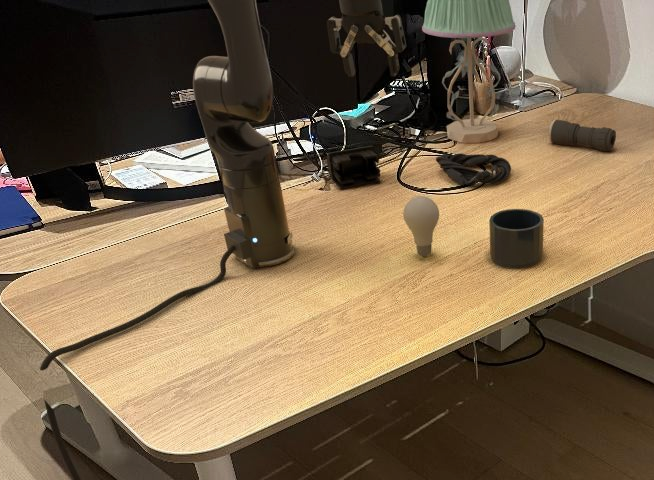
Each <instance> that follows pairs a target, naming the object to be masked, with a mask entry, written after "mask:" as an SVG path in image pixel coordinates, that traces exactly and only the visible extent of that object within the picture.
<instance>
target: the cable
mask: <svg viewBox="0 0 654 480" xmlns="http://www.w3.org/2000/svg"><path fill="white" fill-rule="evenodd" d="M435 161H436V163H438V165H439V167H440V169H442V171H443V173H444V174H445V175H446V176H447V178H449V179H450V180H451V181H452V182H454V183H455V184H458V185H459V186H461V187H465V186H471V187H477V183H480V184H484V185H485V184H487V185H488V184H489V185H497V184H501V183H503V182H505V181H506V180H507V179H508V177H510V174H511V172H512V166H511V164H510V162H509V161H508V160H507V159H506V158H504V157H500V156H499V157H498V155H496V154H481V153H479V154H478V153H477V154H466V153H456V154H447V153H444V154H442V155H440V156H436V158H435ZM476 165H480V166H483V167H485V166H488V165H491V168H490V169H491V171H489V170H487V169H486V170H481V171H480V170H477V169H473V168H470V167H473V166H476ZM499 170H500V171H499Z"/></svg>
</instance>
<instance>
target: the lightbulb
mask: <svg viewBox="0 0 654 480" xmlns="http://www.w3.org/2000/svg"><path fill="white" fill-rule="evenodd" d="M402 215H403V220H404V222H405V224H406V226H407V227H408V229H409V230H410V232H411V233H412V236H413V241H414V245H416V252H417V253H416V254H417V255H418V256H420V257H422V258H427V257H428V256H430V255H431V254H432V250H433V249H432V244H433V236H434V232H435V228H436V227H437V224H438V222H439V219H440V210H439V207H438V204H436V203H435V201H434V200H433V199H432V198H430V197H428V196H425V195H417V196H414V197H411V198H410V199H409V200H408V201H407V203H406V204H405V205H404V208H403V212H402Z"/></svg>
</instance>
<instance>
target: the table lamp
mask: <svg viewBox="0 0 654 480" xmlns="http://www.w3.org/2000/svg"><path fill="white" fill-rule="evenodd" d="M512 12H513V11H512V7H511V3H510V0H427V2H426V6H425V10H424V20H423V24H422V26H421V30H422V32H423V33H425V34H427V35H430V36H435V37H440V38H449V39H451V38H452V39H455V40H453V41H451V42H450V44H449V45H450V46H449V49H448V51H449V53H450V54H452V51H453V49H452V48H454V46H455V45H462V47H464V49H461V51H460V52H459V53H458V56H457V57H456V61H457V62H456V63H454V66H455V67H454V68H453V69H451V70H449V71H447V72H445V74H444V76H443V77H442V81H441V84H442V85H443V88H444V89H445V90H446V91H447V95H446V97H447V99H446V100H447V109H448V111H446V118H447V119H451V120H452V121H453V122H451V123H449V124H447V125H446V132H447V139H449V140H452V141H455V142H458V143H461V144H478V143H484V142H490V141H492V140H494V139H496V138H497V137H498V135H499V124H497V123H496V122H494V121H492V120H488V119H487V118H492V117H493V116H494V115H495V113H496V112H498V111H499V108H500V107H499V103H497V104H496V95H497V94H496V91H495V88H496V87H497V86H498V84H499V83H500V80H501V74H500V72H499V71H498V69H497V67H496V66H494V65H489V64H487V63H485V61H484V60H482V59H481V58H480V57H477V55H476V54H477V48H475V46H476V44H477V43H478V42H480V41H482V42H483V43H486V49H487V50H489V48H490V47H489V46H490V42H489V41H488V39H487V37H496V36H501V35H505V34H508V33H511V32H514V31H515V29H516V27H517V26H516V23H515V21H514V18H513V17H514V16H513V13H512ZM461 39H466V42H465V41H464V40H461ZM472 39H474V41H472ZM481 64H482V65H485V66H487V67H488V68H489V69H490V71H492V72H493V73H496V74H497V76H498V78H497V79H498V80H497V82H496V83H495V84H494V82H493V79H492V78H491V77H490V76H489V74H488V73H487V71H486V70H485V69H484V67H483V66H482V65H481ZM476 66H477V67H478V68H479V70H480V71H481V72H482V73H483V75H484V76H485V78H486V79H487V80H488V82H489V85H490V89H488V88H487V87H486V86H484V91H485V93H486V94H487V95H488V96H490V98H491V101H490V106H489V109H487V111H486V113H484V115H483V116H482V117H481V118H475V112H474V111H475V109H474V81H473V79H474V78H473V75H474V76H475V77H478V75H477V69H476ZM455 70H456V72H455V74H454V71H455ZM460 73H461V78H464V77H465V75H466V74H467V76H468V78H467V79H468V100H469V118H466V119H461V118H460V117H458V116H457V115H456V114H455V112H454V111H453V104H454V102H455V100H456V99H458V97H459V95H460V89H458V90H457V91H456V92H455V93H454V91H453V90H452V89H453V85H454V83H455V82H456V81H457V78H458V76H459V75H460ZM453 74H454V75H453ZM452 75H453V77H452V78H451V81H450V82H449V86H448V88H447V86H446V84H445V80H446V79H447V78H449V77H451V76H452ZM451 94H452V95H451ZM450 99H451V101H450ZM492 110H493V112H492V113H491V111H492ZM490 113H491V114H490Z"/></svg>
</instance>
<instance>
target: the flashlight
mask: <svg viewBox="0 0 654 480" xmlns="http://www.w3.org/2000/svg"><path fill="white" fill-rule="evenodd" d="M616 136H617V134H616V130H615V129H613V128H611V127H605V126H602V127H594V126H583V125H582V126H581V125H580V124H579V123H576V122H575V123H574V122H570V121H569V120H561V119H555V118H554V119H553V121H552V122H551V123H550V127H549V131H548V140H549V142H550V143H551V144H556V145H562V146H564V145H565V146H566V145H569V146H577V145H579V146H585V147H588V148H594V149H597V150H598V151H602V152H608V151H612V150H613V149H614V147H615V144H616V139H617V137H616Z"/></svg>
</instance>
